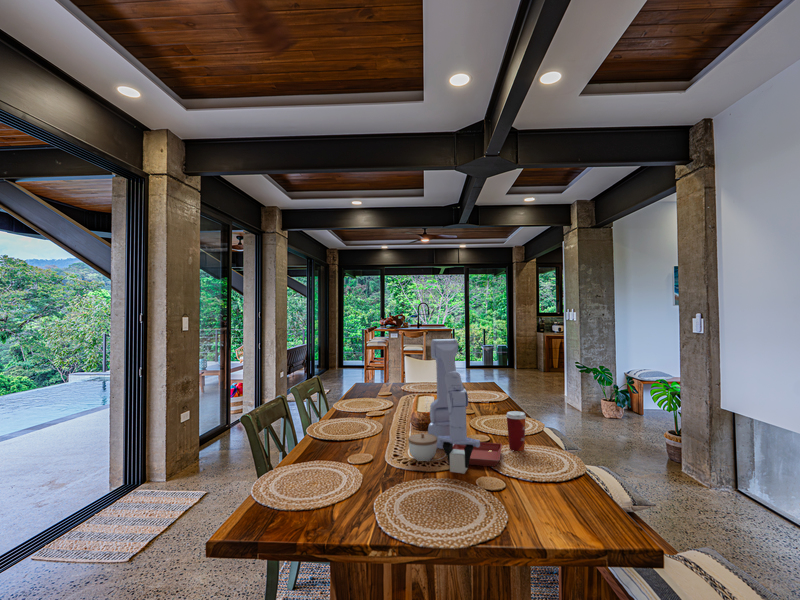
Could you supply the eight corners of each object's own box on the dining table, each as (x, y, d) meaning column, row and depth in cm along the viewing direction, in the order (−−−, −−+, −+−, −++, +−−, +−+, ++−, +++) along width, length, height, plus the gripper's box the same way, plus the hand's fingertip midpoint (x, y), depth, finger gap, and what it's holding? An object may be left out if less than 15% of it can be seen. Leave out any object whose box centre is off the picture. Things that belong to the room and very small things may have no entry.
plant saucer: (447, 465, 142) (447, 455, 142) (455, 448, 159) (455, 440, 160) (499, 470, 137) (499, 460, 137) (502, 452, 154) (502, 443, 154)
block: (449, 471, 136) (449, 453, 136) (453, 466, 140) (453, 448, 140) (464, 473, 134) (464, 455, 134) (467, 468, 138) (467, 450, 138)
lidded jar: (427, 466, 140) (426, 439, 141) (402, 460, 147) (402, 434, 147) (443, 457, 149) (442, 432, 149) (419, 451, 155) (418, 427, 156)
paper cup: (529, 452, 152) (528, 415, 152) (509, 452, 152) (508, 415, 153) (523, 445, 160) (522, 410, 160) (504, 445, 160) (503, 410, 160)
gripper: (434, 426, 136) (435, 467, 136) (476, 431, 131) (477, 472, 130) (440, 421, 143) (441, 459, 143) (480, 425, 137) (481, 465, 137)
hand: (458, 465), depth 137 cm, fingers closed on block, 5 cm apart
